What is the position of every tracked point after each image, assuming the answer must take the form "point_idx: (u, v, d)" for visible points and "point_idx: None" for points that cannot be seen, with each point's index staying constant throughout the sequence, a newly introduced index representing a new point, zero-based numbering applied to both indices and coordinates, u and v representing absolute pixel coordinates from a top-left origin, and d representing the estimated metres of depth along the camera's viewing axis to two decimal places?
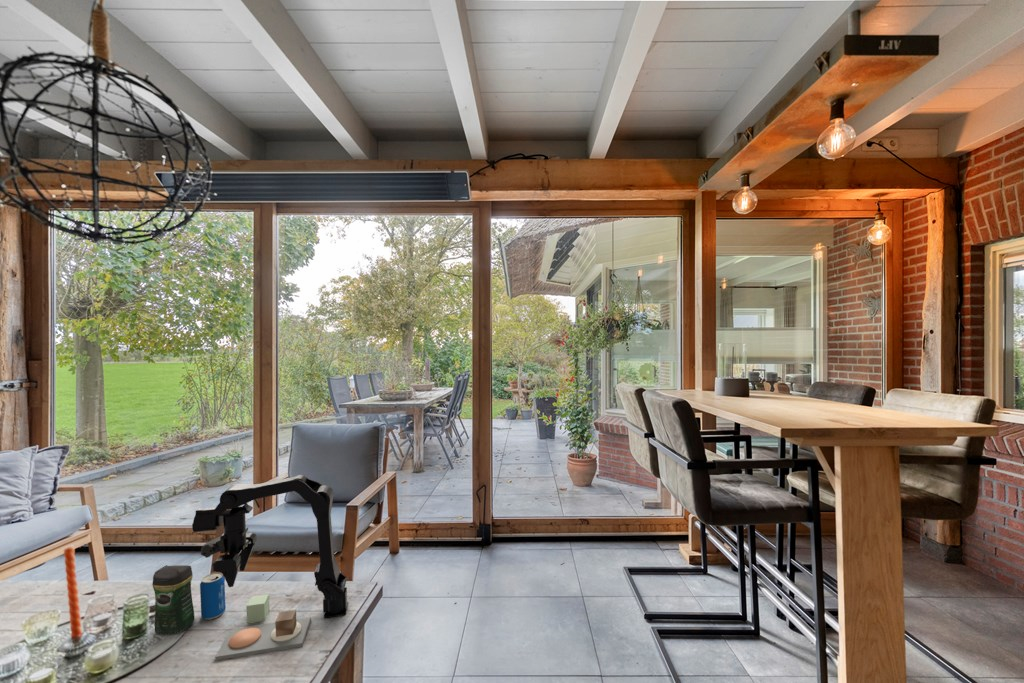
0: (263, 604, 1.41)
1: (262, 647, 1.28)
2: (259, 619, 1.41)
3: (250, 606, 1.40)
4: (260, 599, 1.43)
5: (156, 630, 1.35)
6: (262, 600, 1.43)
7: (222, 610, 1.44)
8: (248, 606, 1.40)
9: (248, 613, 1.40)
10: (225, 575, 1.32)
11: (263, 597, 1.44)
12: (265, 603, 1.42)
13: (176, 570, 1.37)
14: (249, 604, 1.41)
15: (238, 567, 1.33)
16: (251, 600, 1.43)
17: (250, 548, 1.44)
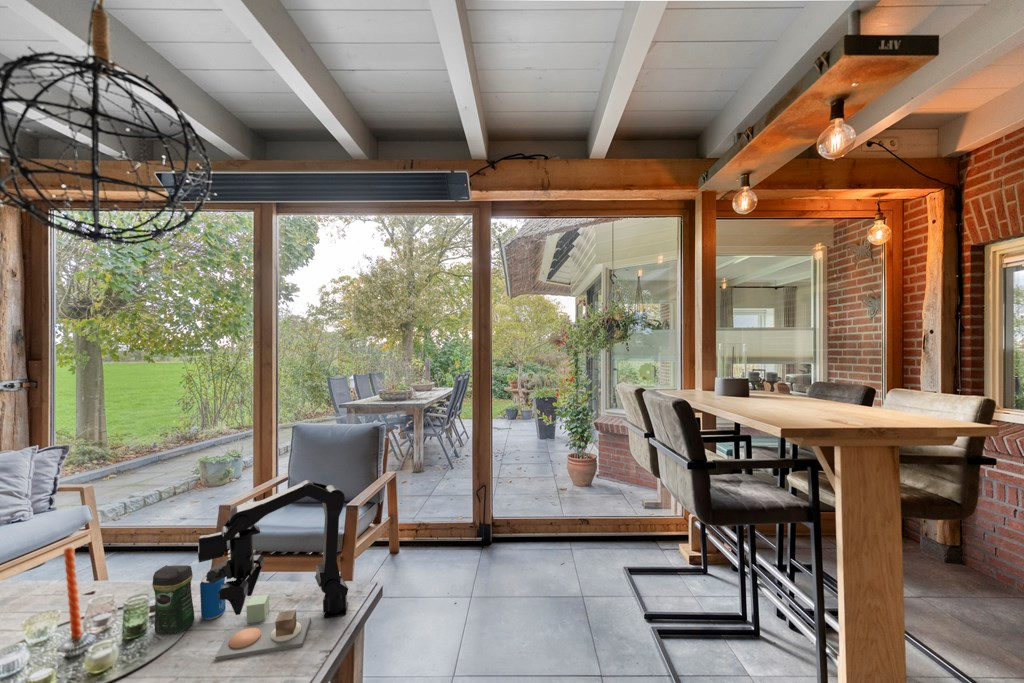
0: (263, 604, 1.41)
1: (262, 647, 1.28)
2: (259, 619, 1.41)
3: (250, 606, 1.40)
4: (261, 599, 1.43)
5: (156, 630, 1.35)
6: (262, 600, 1.43)
7: (222, 610, 1.44)
8: (248, 606, 1.40)
9: (248, 613, 1.40)
10: (232, 602, 1.25)
11: (263, 597, 1.44)
12: (265, 603, 1.42)
13: (176, 570, 1.37)
14: (249, 604, 1.41)
15: (246, 594, 1.25)
16: (251, 600, 1.43)
17: (258, 572, 1.36)
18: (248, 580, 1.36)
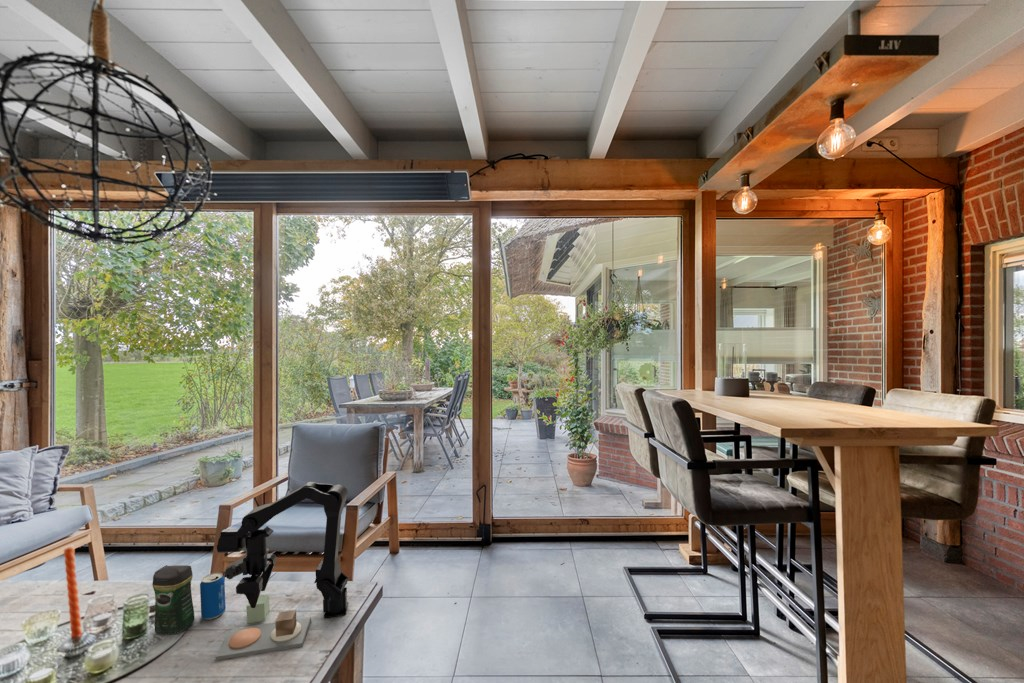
0: (263, 604, 1.41)
1: (262, 647, 1.28)
2: (259, 619, 1.41)
3: (250, 606, 1.40)
4: (261, 599, 1.43)
5: (156, 630, 1.35)
6: (262, 600, 1.43)
7: (222, 610, 1.44)
8: (248, 606, 1.40)
9: (248, 613, 1.40)
10: (248, 596, 1.37)
11: (263, 597, 1.44)
12: (265, 603, 1.42)
13: (176, 570, 1.37)
14: (249, 604, 1.41)
15: (260, 589, 1.37)
16: None
17: (270, 569, 1.48)
18: (262, 576, 1.47)
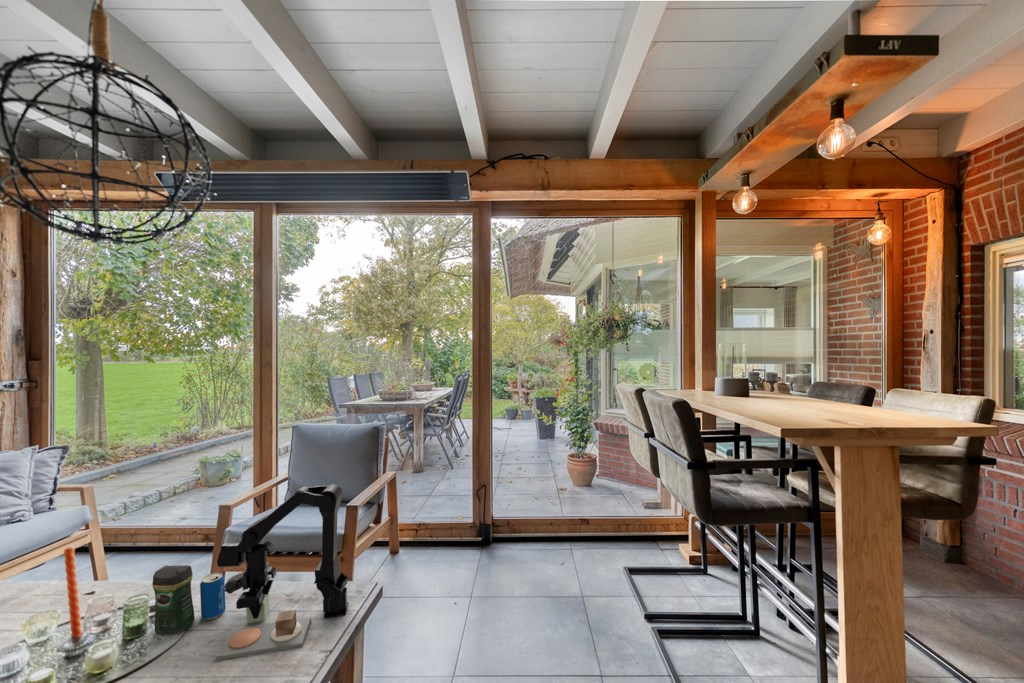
0: (263, 604, 1.41)
1: (262, 647, 1.28)
2: (259, 619, 1.41)
3: None
4: None
5: (156, 630, 1.35)
6: None
7: (222, 610, 1.44)
8: None
9: (248, 613, 1.40)
10: (250, 607, 1.39)
11: None
12: (265, 603, 1.42)
13: (176, 570, 1.37)
14: None
15: (263, 600, 1.39)
16: None
17: (269, 585, 1.46)
18: None
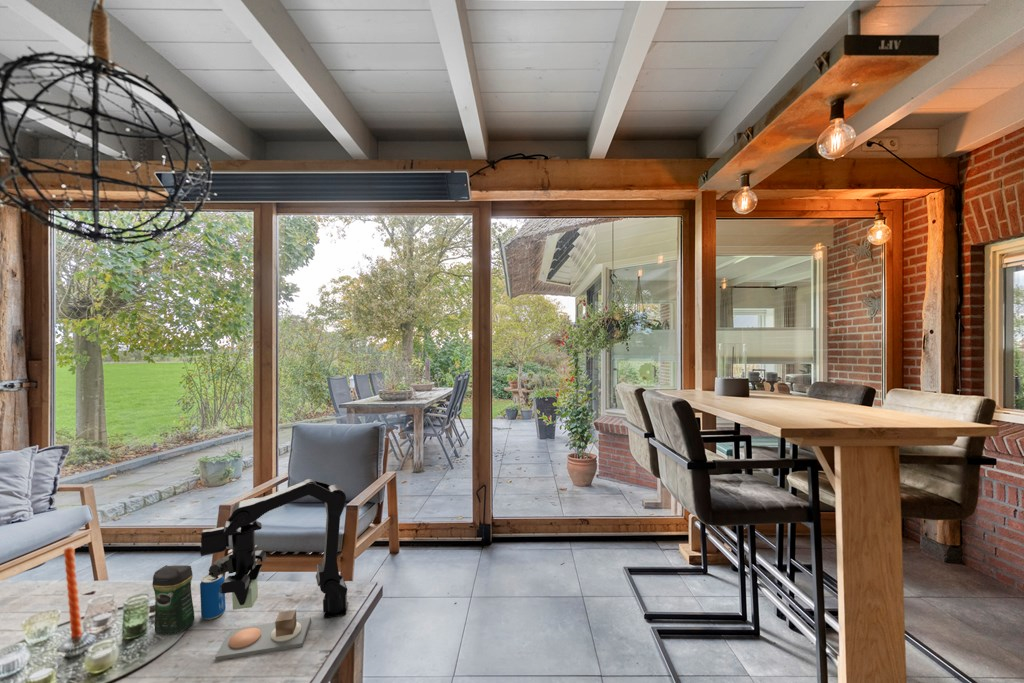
0: (250, 589, 1.31)
1: (262, 647, 1.28)
2: (246, 605, 1.31)
3: None
4: None
5: (156, 630, 1.35)
6: None
7: (222, 610, 1.44)
8: None
9: (234, 599, 1.30)
10: (236, 592, 1.28)
11: None
12: (252, 588, 1.32)
13: (176, 570, 1.37)
14: None
15: (249, 585, 1.29)
16: None
17: (257, 570, 1.36)
18: None
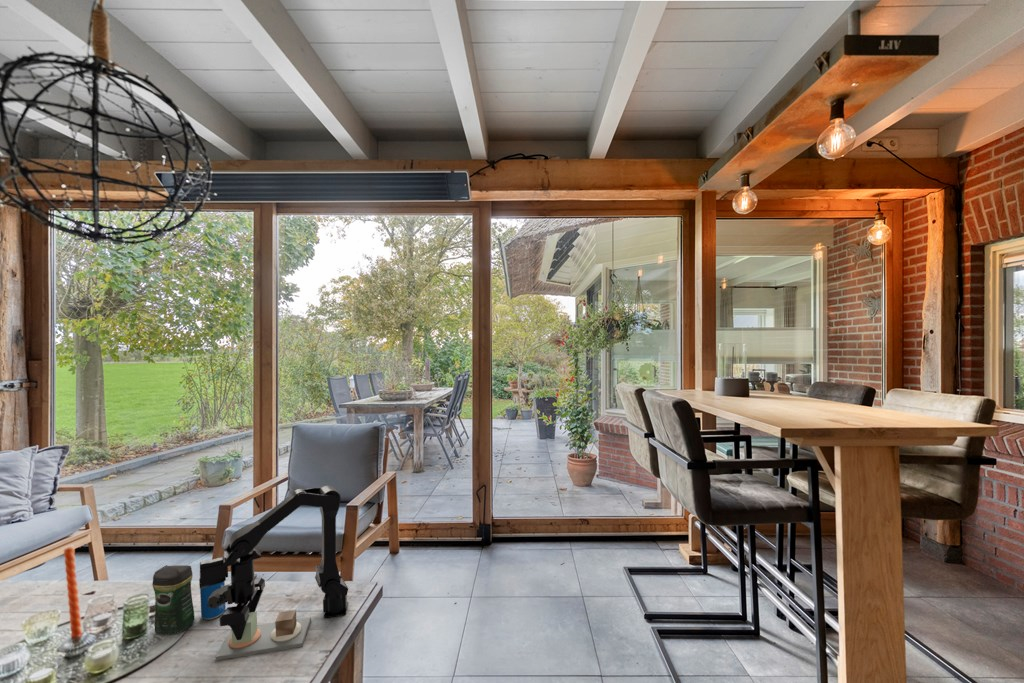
0: (250, 623, 1.29)
1: (262, 647, 1.28)
2: (245, 639, 1.29)
3: None
4: None
5: (156, 630, 1.35)
6: (249, 618, 1.31)
7: (222, 610, 1.44)
8: None
9: (233, 633, 1.28)
10: (233, 628, 1.25)
11: (249, 615, 1.32)
12: (252, 622, 1.30)
13: (176, 570, 1.37)
14: None
15: (247, 619, 1.25)
16: None
17: (258, 596, 1.36)
18: (249, 604, 1.36)
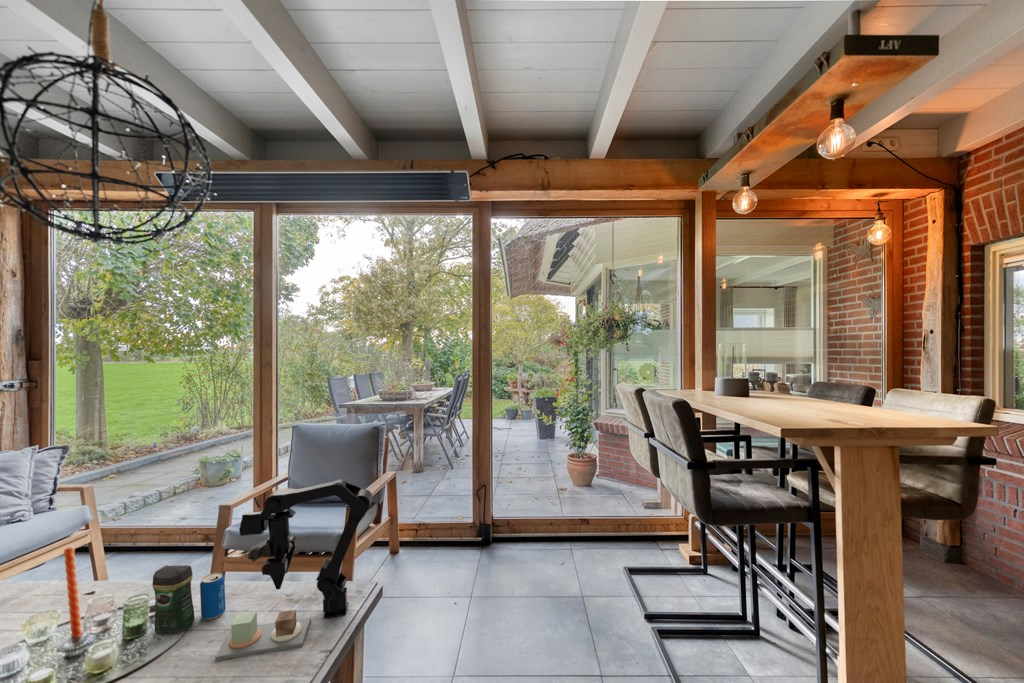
0: (250, 623, 1.29)
1: (262, 647, 1.28)
2: (245, 639, 1.29)
3: (235, 625, 1.28)
4: (247, 617, 1.31)
5: (156, 630, 1.35)
6: (249, 618, 1.31)
7: (222, 610, 1.44)
8: (233, 625, 1.28)
9: (233, 633, 1.28)
10: (273, 578, 1.36)
11: (249, 615, 1.32)
12: (252, 622, 1.30)
13: (176, 570, 1.37)
14: (234, 623, 1.29)
15: (286, 569, 1.36)
16: (237, 618, 1.31)
17: (292, 551, 1.47)
18: None
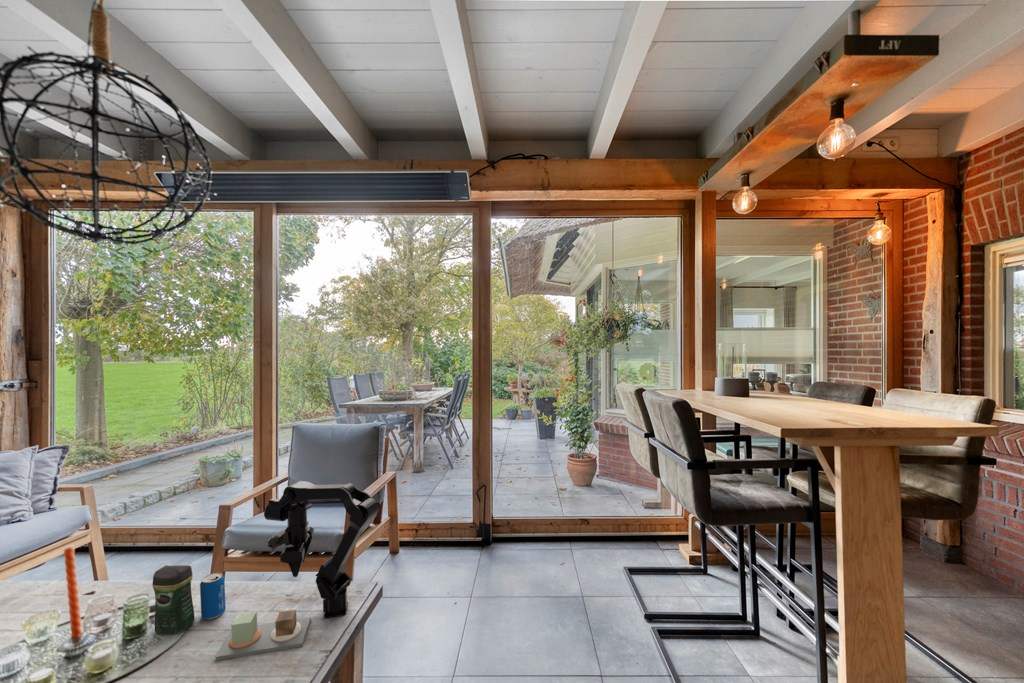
0: (250, 623, 1.29)
1: (262, 647, 1.28)
2: (245, 639, 1.29)
3: (235, 625, 1.28)
4: (247, 617, 1.31)
5: (156, 630, 1.35)
6: (249, 618, 1.31)
7: (222, 610, 1.44)
8: (233, 625, 1.28)
9: (233, 633, 1.28)
10: (290, 565, 1.42)
11: (249, 615, 1.32)
12: (252, 622, 1.30)
13: (176, 570, 1.37)
14: (234, 623, 1.29)
15: (303, 558, 1.42)
16: (237, 618, 1.31)
17: (309, 541, 1.53)
18: None
